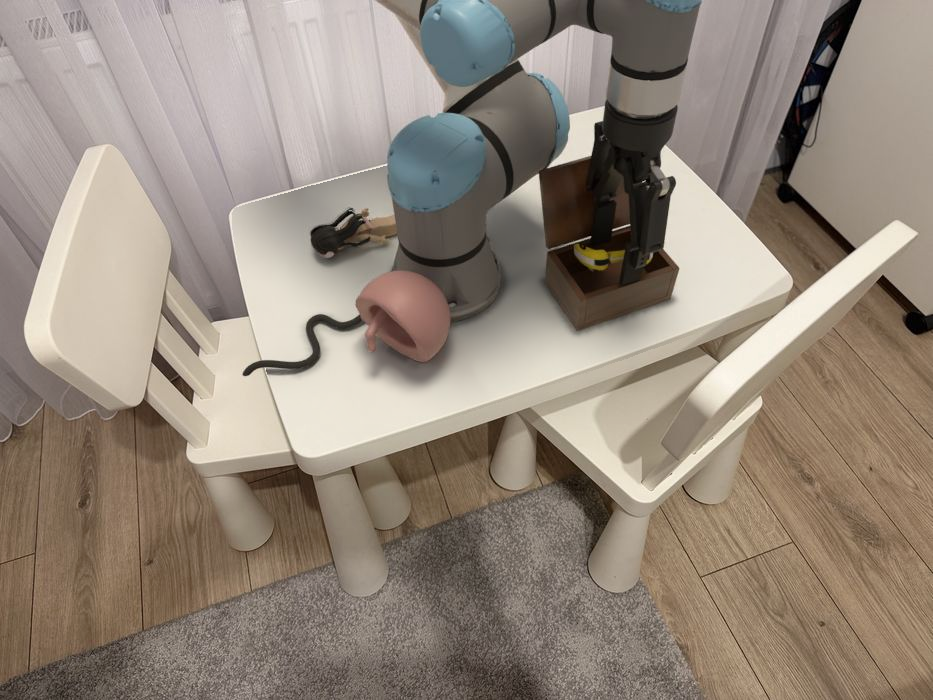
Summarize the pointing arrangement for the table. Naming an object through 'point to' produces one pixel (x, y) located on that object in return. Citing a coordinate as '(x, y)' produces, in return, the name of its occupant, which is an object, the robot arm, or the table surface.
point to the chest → (606, 283)
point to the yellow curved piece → (599, 257)
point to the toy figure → (351, 232)
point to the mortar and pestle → (405, 314)
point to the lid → (573, 203)
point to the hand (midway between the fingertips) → (614, 260)
